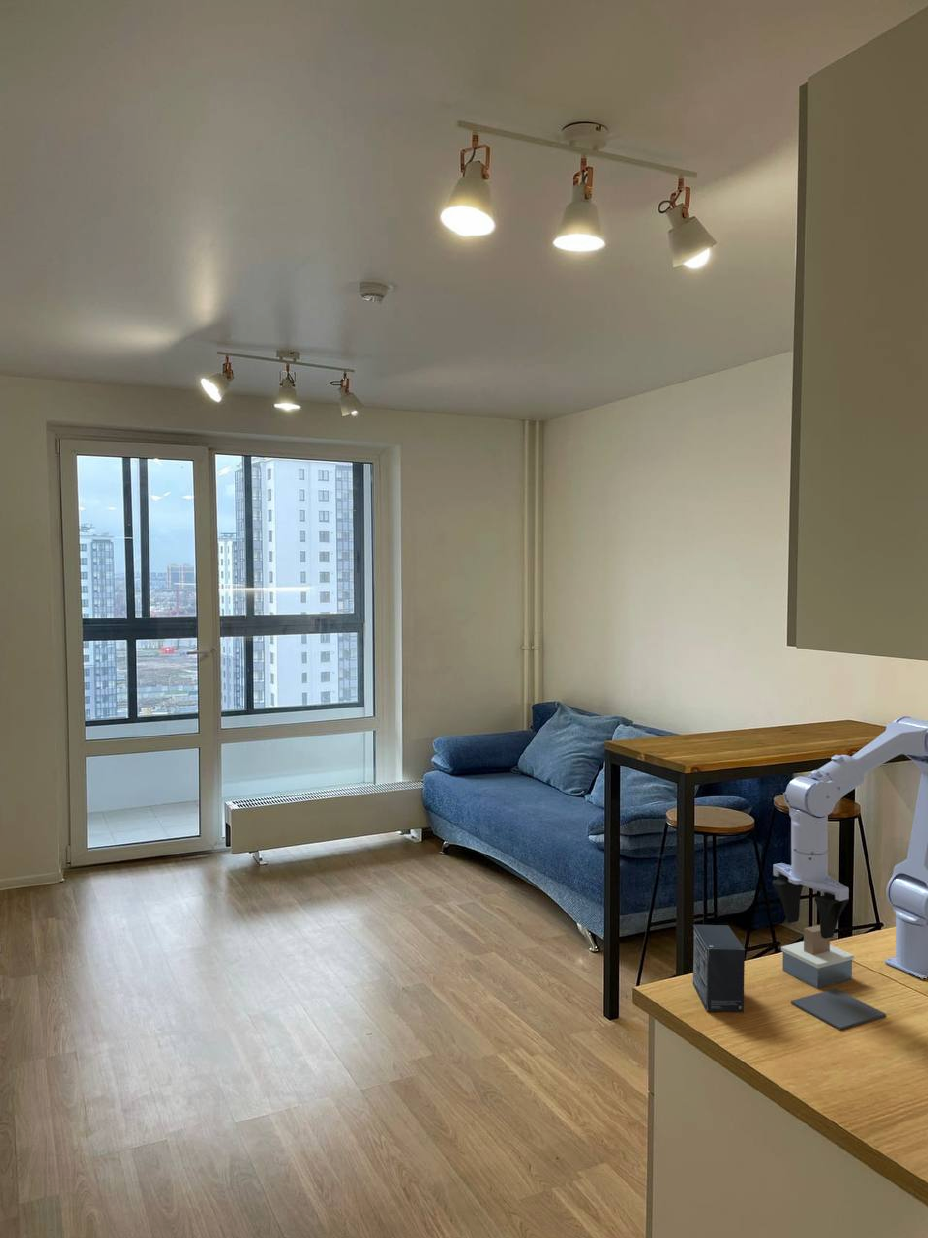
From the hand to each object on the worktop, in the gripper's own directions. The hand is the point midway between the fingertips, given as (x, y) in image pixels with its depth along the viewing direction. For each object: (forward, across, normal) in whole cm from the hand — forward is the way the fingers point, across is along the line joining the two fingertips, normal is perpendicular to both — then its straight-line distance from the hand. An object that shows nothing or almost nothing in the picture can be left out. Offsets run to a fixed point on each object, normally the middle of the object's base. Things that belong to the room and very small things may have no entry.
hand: (809, 929), depth 155 cm
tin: (+10, -3, +5) cm, 12 cm away
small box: (+10, -4, -16) cm, 19 cm away
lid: (+7, -3, +5) cm, 9 cm away
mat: (+10, +8, -2) cm, 13 cm away
